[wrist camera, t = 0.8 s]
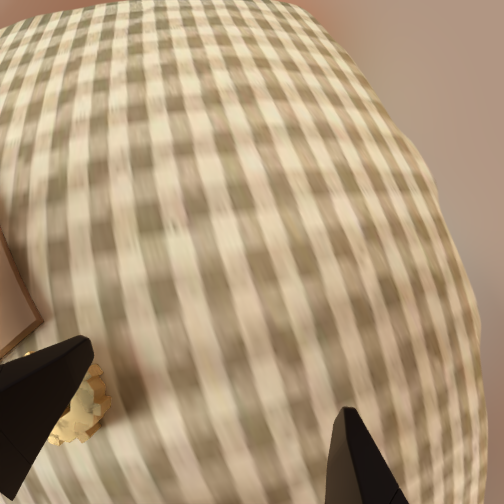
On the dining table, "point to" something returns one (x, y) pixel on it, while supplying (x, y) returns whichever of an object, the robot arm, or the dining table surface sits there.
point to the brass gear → (82, 410)
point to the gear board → (14, 303)
